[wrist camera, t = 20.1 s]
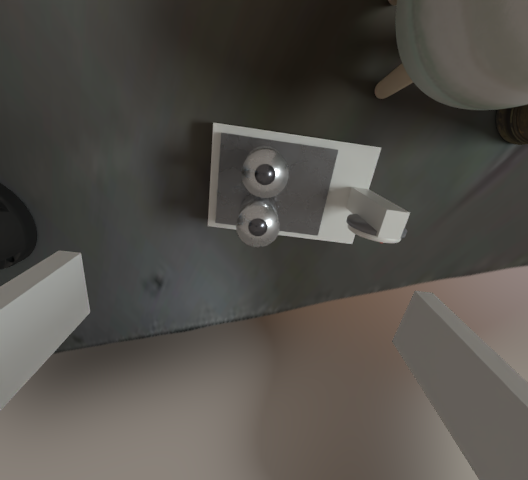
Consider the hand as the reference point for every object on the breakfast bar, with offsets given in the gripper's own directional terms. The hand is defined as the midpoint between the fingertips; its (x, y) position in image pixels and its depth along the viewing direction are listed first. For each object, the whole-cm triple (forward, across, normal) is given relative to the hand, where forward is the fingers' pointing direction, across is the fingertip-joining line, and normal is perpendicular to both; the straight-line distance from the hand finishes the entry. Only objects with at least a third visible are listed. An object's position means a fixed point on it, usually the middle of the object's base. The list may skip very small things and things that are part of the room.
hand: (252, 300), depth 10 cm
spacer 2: (+26, +1, -4) cm, 26 cm away
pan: (+27, +2, -1) cm, 27 cm away
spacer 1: (+26, +1, +2) cm, 26 cm away
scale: (+30, +6, -1) cm, 30 cm away
